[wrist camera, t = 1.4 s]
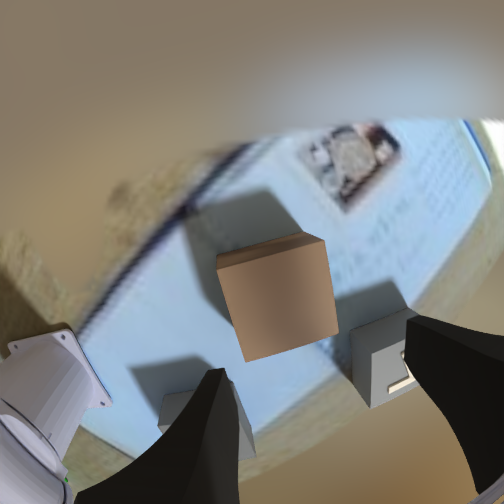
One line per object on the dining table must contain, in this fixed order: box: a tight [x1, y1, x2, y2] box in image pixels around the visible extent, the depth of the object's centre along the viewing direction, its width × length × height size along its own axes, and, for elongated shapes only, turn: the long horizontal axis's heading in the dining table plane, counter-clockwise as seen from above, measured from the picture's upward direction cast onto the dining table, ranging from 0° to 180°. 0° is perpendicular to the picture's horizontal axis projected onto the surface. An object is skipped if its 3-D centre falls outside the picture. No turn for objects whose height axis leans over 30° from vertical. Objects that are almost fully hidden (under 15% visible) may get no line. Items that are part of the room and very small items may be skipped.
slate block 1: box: [157, 382, 256, 461], centre depth 19 cm, size 6×6×4 cm
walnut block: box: [216, 232, 339, 362], centre depth 17 cm, size 6×6×4 cm
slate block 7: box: [350, 308, 420, 409], centre depth 20 cm, size 6×6×4 cm
